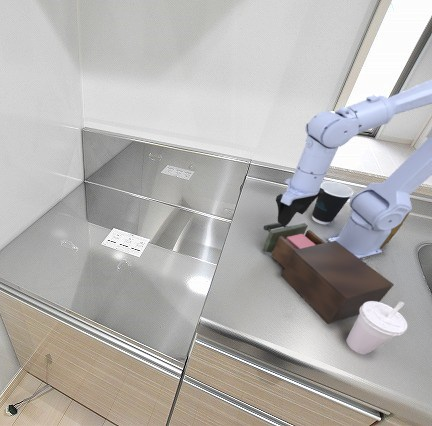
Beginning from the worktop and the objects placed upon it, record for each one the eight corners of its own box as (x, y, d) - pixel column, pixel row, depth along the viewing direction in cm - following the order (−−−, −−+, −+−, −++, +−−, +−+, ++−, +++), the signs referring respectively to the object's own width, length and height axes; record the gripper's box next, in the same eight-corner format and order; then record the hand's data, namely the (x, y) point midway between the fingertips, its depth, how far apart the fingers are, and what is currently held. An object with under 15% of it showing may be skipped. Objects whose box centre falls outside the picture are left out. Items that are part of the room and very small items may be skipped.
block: (294, 248, 76) (302, 233, 73) (308, 260, 72) (316, 245, 69) (280, 251, 75) (286, 237, 72) (293, 264, 71) (300, 249, 68)
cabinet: (281, 275, 71) (293, 250, 66) (320, 265, 73) (335, 240, 68) (327, 324, 60) (346, 298, 55) (372, 310, 63) (394, 284, 58)
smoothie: (364, 367, 53) (408, 323, 45) (330, 337, 58) (365, 292, 50) (386, 353, 55) (432, 308, 47) (352, 325, 60) (389, 280, 52)
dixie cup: (338, 217, 89) (355, 186, 82) (334, 231, 84) (352, 199, 77) (308, 208, 93) (323, 178, 86) (303, 221, 88) (318, 190, 81)
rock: (396, 250, 74) (419, 233, 77) (385, 219, 73) (409, 203, 76) (350, 247, 84) (372, 232, 87) (340, 220, 84) (363, 206, 86)
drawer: (252, 239, 80) (258, 220, 76) (284, 232, 82) (292, 213, 78) (297, 286, 67) (309, 265, 63) (334, 276, 69) (347, 256, 65)
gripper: (309, 153, 70) (290, 200, 78) (276, 171, 64) (258, 220, 72) (341, 164, 66) (317, 212, 74) (309, 185, 59) (287, 235, 67)
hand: (290, 217), depth 72 cm, fingers open, 7 cm apart
